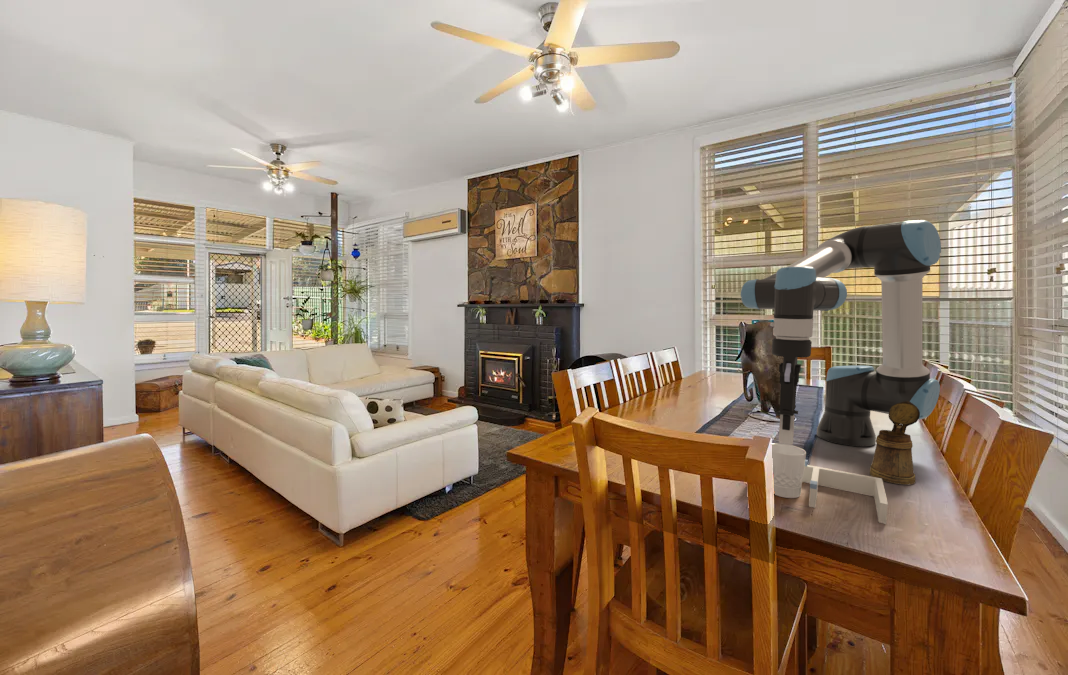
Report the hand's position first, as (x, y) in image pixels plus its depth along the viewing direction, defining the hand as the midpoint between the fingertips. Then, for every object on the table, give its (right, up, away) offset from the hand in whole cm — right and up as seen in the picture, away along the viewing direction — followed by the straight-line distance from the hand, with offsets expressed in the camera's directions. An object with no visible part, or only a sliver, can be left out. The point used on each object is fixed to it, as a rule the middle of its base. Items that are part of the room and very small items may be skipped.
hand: (785, 442), depth 100 cm
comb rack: (+6, -12, 0) cm, 13 cm away
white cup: (0, -12, +1) cm, 12 cm away
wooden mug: (+33, -11, +11) cm, 37 cm away
